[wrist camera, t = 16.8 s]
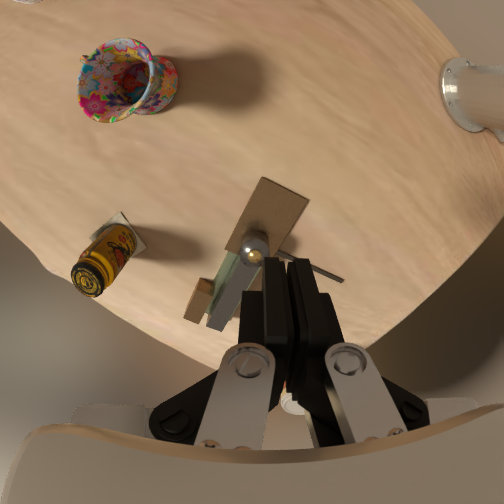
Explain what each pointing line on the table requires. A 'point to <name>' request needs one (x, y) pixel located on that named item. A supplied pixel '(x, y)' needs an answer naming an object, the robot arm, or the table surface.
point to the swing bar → (238, 278)
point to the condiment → (106, 256)
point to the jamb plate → (270, 219)
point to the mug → (124, 81)
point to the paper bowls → (28, 1)
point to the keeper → (210, 291)
